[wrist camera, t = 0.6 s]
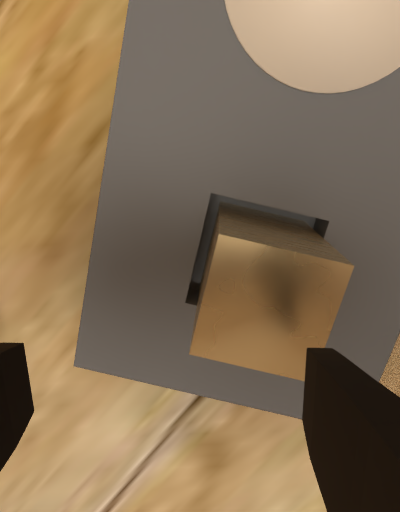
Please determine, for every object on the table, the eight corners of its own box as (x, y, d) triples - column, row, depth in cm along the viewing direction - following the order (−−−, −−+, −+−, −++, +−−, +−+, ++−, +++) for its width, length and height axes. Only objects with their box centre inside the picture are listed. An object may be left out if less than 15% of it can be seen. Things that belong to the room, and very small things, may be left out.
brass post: (303, 220, 18) (354, 266, 11) (279, 298, 19) (311, 383, 12) (220, 201, 18) (218, 233, 11) (201, 280, 19) (188, 354, 12)
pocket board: (555, -142, 14) (631, -209, 11) (342, 399, 21) (359, 435, 18) (184, -233, 14) (175, -321, 11) (91, 340, 21) (71, 368, 18)
